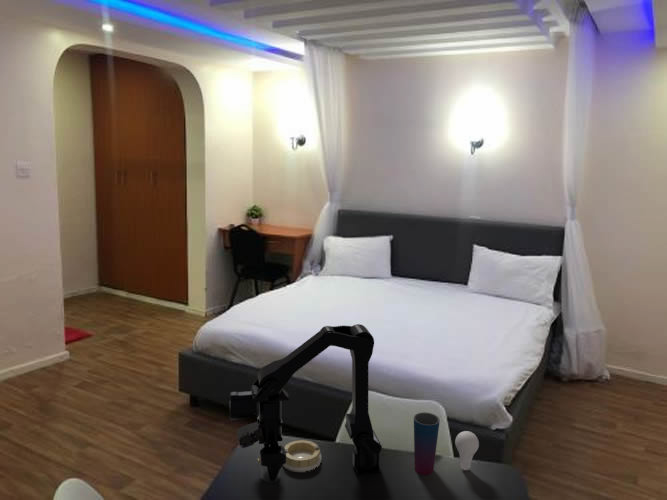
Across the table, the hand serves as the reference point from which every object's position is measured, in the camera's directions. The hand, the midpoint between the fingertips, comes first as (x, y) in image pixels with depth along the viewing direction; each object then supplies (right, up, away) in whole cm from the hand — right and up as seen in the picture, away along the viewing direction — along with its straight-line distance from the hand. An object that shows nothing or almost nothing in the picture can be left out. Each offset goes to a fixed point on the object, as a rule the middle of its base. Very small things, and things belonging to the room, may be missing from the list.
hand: (270, 470), depth 146 cm
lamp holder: (+8, 0, +8) cm, 11 cm away
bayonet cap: (0, -2, 0) cm, 2 cm away
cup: (+41, -2, +5) cm, 41 cm away
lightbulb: (+52, -2, +5) cm, 52 cm away
